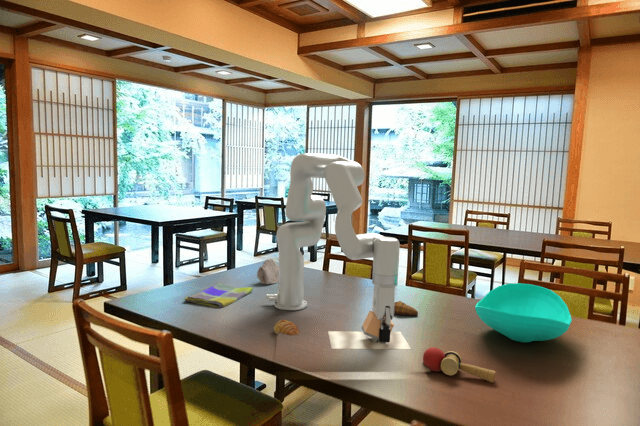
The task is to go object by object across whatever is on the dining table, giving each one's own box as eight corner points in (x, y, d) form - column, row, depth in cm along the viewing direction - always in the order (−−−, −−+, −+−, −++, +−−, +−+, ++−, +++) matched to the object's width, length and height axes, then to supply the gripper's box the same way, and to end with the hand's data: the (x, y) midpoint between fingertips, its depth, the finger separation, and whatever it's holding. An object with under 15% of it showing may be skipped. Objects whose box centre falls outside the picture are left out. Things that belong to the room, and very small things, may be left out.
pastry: (305, 338, 134) (305, 326, 134) (286, 342, 130) (286, 330, 130) (289, 328, 142) (289, 317, 141) (271, 332, 138) (271, 321, 137)
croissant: (379, 314, 158) (379, 301, 158) (383, 308, 164) (383, 296, 164) (416, 319, 153) (417, 306, 153) (419, 314, 160) (419, 300, 159)
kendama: (492, 378, 114) (424, 356, 120) (497, 358, 112) (428, 337, 118) (490, 397, 107) (418, 372, 113) (496, 376, 105) (422, 352, 111)
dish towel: (254, 293, 180) (255, 286, 180) (220, 310, 158) (220, 302, 158) (219, 287, 187) (219, 281, 187) (182, 303, 165) (182, 296, 164)
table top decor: (566, 373, 115) (571, 325, 113) (460, 348, 129) (463, 305, 128) (571, 328, 148) (574, 290, 147) (486, 312, 163) (489, 278, 161)
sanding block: (364, 334, 127) (372, 316, 126) (361, 327, 132) (369, 310, 131) (385, 343, 128) (394, 325, 127) (381, 336, 132) (390, 319, 132)
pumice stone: (266, 286, 189) (266, 264, 188) (253, 283, 193) (254, 261, 192) (288, 279, 202) (288, 258, 201) (275, 277, 206) (276, 256, 205)
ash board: (331, 353, 123) (331, 348, 122) (327, 335, 136) (328, 331, 135) (411, 354, 124) (411, 348, 124) (400, 336, 137) (400, 331, 137)
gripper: (367, 271, 136) (365, 327, 138) (378, 286, 119) (375, 349, 121) (391, 272, 137) (388, 327, 139) (404, 287, 120) (401, 350, 122)
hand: (382, 337), depth 130 cm, fingers closed on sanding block, 5 cm apart
